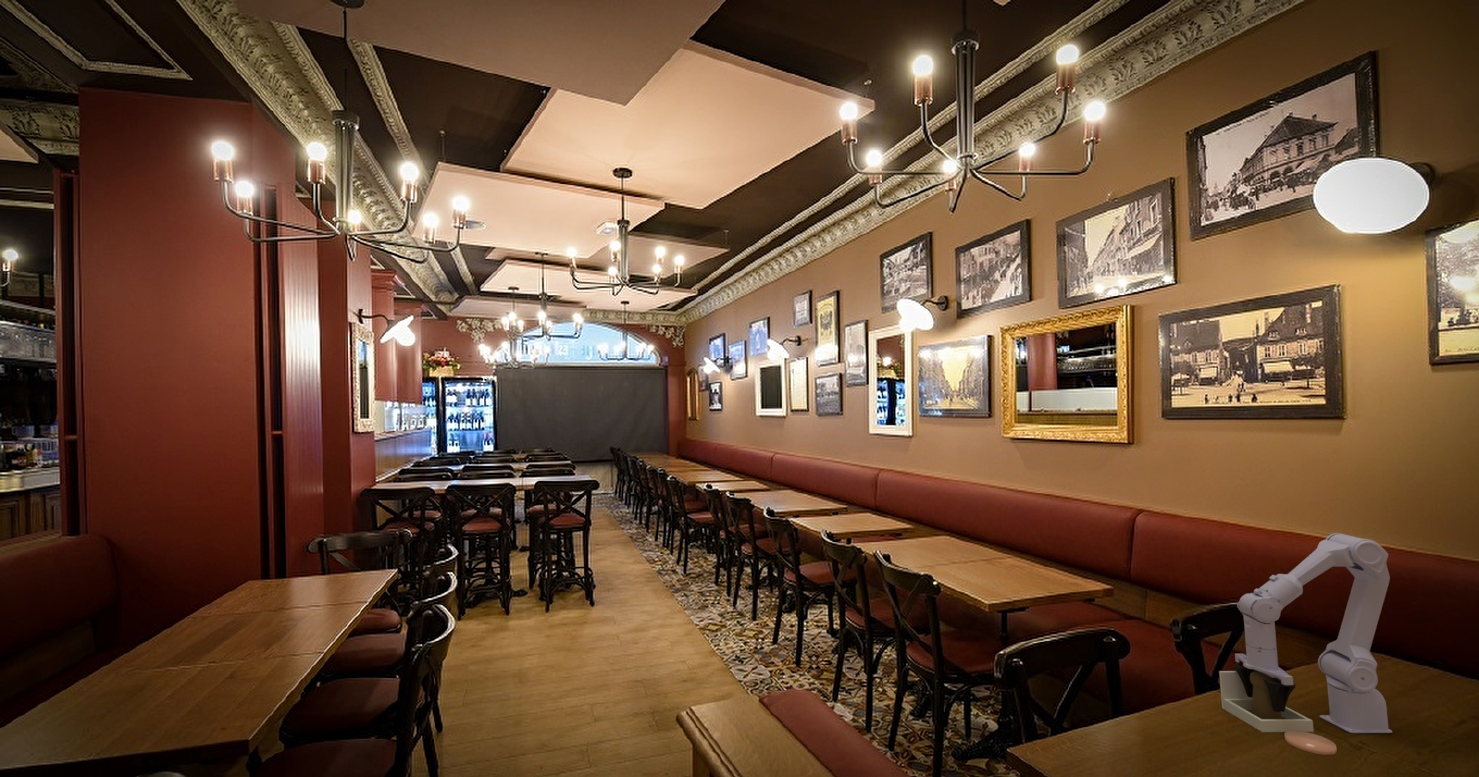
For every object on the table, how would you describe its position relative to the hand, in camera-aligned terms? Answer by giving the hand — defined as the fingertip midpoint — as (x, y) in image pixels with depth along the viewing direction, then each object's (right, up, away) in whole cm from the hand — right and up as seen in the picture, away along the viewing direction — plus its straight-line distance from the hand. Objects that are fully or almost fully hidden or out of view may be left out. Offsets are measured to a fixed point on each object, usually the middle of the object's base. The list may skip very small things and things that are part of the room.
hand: (1265, 703), depth 146 cm
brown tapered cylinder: (0, -4, 0) cm, 4 cm away
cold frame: (0, -4, 0) cm, 4 cm away
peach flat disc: (0, -3, -12) cm, 12 cm away
